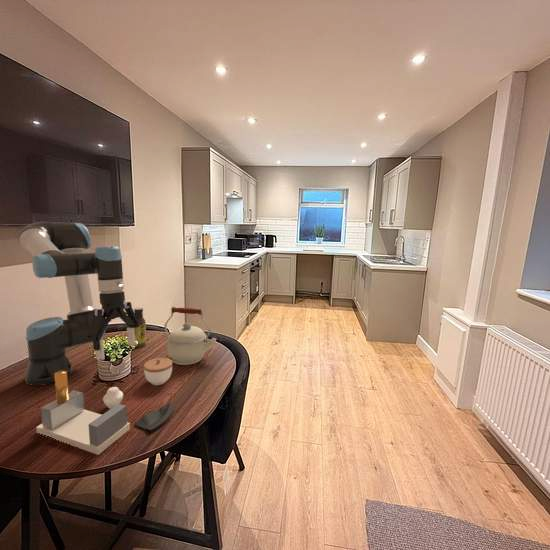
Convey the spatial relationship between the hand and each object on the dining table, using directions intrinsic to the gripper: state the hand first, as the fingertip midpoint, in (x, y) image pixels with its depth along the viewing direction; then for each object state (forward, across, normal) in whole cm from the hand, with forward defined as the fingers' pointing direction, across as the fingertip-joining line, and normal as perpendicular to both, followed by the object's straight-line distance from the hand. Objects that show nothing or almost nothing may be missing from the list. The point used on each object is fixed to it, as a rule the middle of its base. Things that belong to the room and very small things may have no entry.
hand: (117, 351), depth 100 cm
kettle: (+17, +38, -4) cm, 42 cm away
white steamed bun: (+19, -3, 0) cm, 19 cm away
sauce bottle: (+14, +42, +29) cm, 53 cm away
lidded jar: (+18, +16, -3) cm, 24 cm away
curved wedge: (+21, -4, -18) cm, 28 cm away
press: (+19, -16, -1) cm, 25 cm away
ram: (+16, -15, +7) cm, 23 cm away
